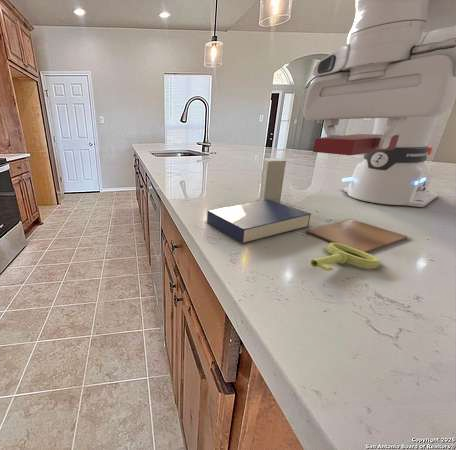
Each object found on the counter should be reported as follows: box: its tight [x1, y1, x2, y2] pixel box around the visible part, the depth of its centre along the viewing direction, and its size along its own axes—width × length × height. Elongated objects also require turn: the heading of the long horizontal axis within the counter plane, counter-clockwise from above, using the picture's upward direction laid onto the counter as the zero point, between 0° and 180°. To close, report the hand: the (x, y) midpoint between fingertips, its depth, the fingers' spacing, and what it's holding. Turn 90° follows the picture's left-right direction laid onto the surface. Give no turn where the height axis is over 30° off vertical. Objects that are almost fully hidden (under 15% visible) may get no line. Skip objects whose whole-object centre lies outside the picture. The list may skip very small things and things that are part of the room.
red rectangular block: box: [312, 133, 399, 156], centre depth 43 cm, size 12×6×2 cm, turn 112°
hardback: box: [206, 199, 312, 244], centre depth 54 cm, size 18×12×3 cm
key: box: [309, 242, 381, 272], centre depth 38 cm, size 7×12×2 cm, turn 132°
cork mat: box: [306, 218, 408, 253], centre depth 48 cm, size 14×10×1 cm
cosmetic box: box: [258, 157, 287, 204], centre depth 66 cm, size 6×4×12 cm
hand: (353, 146), depth 43 cm, fingers closed on red rectangular block, 6 cm apart
